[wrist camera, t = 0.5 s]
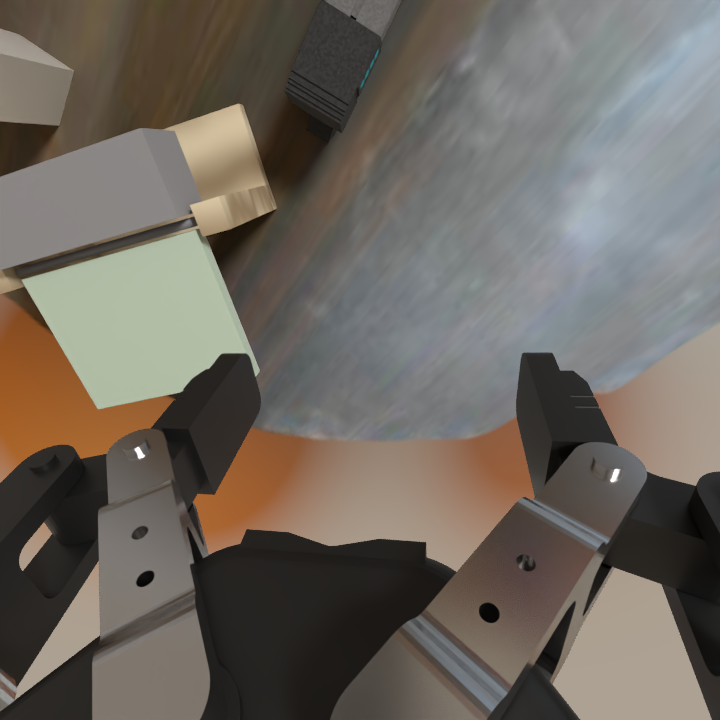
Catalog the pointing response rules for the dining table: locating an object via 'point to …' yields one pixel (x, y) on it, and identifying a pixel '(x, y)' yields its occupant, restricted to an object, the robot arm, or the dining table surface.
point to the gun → (338, 60)
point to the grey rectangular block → (31, 82)
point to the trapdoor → (121, 266)
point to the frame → (202, 183)
